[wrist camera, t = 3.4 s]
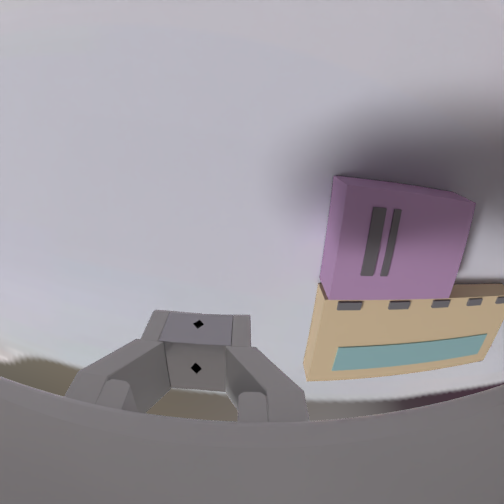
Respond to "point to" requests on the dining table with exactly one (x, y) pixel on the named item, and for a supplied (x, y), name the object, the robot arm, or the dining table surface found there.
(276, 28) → the dining table surface
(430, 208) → the purple flat block
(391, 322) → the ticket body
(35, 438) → the robot arm
